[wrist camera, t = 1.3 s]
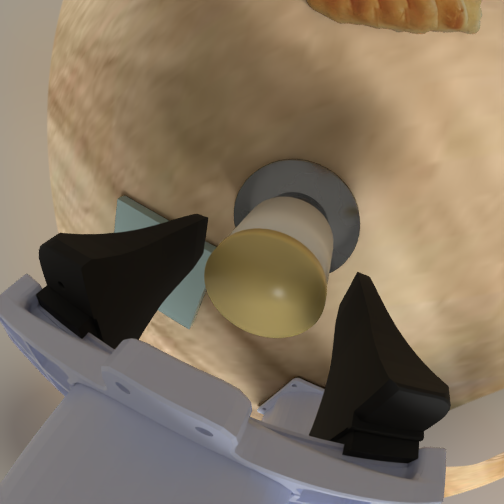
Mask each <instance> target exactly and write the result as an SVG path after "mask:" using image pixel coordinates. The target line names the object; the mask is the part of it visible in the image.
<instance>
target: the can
mask: <svg viewBox="0 0 504 504" xmlns="http://www.w3.org/2000/svg"><path fill="white" fill-rule="evenodd" d="M332 252H333V234H332V230H331V228H330V225H329V223H328V222H327V220H326V218H325V217H324V216H323V214H322V213H321V212H320V211H319V210H318V209H316V208H315V207H314V206H312V205H311V204H309V203H307V202H305V201H303V200H300V199H297V198H293V197H275V198H270V199H268V200H265V201H263V202H261V203H260V204H258V205H257V206H256V207H255V208H254V209H253V210H252V211H251V212H250V213H249V214H248V215H247V216H246V217H245V218H244V219H243V221H242V222H241V223H240V224H239V225H238V226H237V227H236V228H235V229H234V230H233V232H232V233H231V234H230V235H229V236H228V237H227V238H226V239H224V240H223V241H222V242H221V243H220V244H219V245H218V246H217V247H216V249H215V250H214V251H213V252H212V253H211V255H210V256H209V258H208V260H207V262H206V266H205V272H204V281H205V286H206V290H207V293H208V295H209V297H210V299H211V301H212V303H213V304H214V306H215V307H216V308H217V310H218V311H219V312H220V313H221V314H222V315H223V316H224V317H225V318H226V319H227V320H228V321H230V322H231V323H232V324H234V325H235V326H237V327H239V328H240V329H242V330H244V331H247V332H249V333H252V334H255V335H258V336H262V337H268V338H286V337H291V336H295V335H298V334H301V333H303V332H305V331H306V330H308V329H309V328H311V327H312V326H313V325H314V324H315V323H316V322H317V321H318V319H319V318H320V316H321V314H322V312H323V309H324V306H325V300H326V295H327V282H328V277H329V271H330V265H331V258H332Z"/></svg>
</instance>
